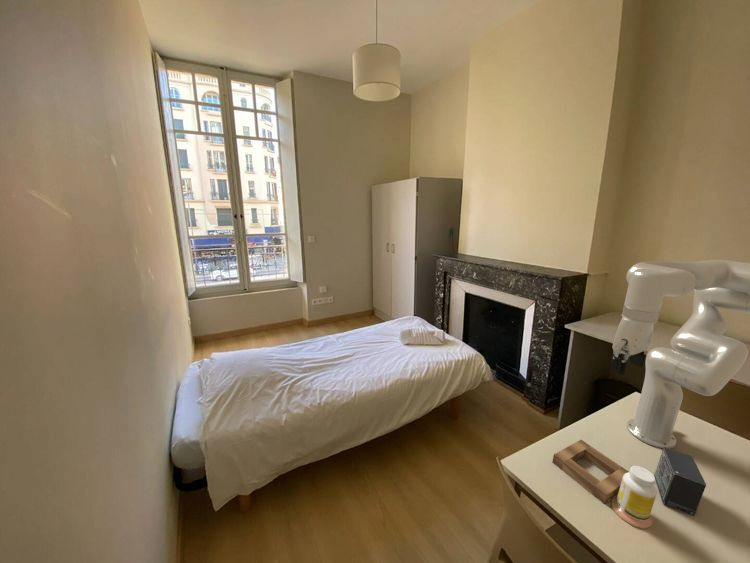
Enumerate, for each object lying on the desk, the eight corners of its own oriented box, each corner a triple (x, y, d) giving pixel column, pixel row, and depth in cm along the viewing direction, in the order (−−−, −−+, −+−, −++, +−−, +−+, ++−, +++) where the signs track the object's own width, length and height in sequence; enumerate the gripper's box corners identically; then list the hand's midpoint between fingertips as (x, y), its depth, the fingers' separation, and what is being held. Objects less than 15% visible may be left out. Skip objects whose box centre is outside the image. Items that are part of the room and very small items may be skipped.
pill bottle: (654, 525, 73) (667, 488, 70) (624, 519, 75) (636, 482, 72) (638, 500, 79) (649, 465, 76) (610, 495, 81) (620, 460, 78)
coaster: (621, 492, 82) (622, 491, 82) (658, 519, 75) (658, 517, 75) (604, 505, 79) (605, 503, 79) (641, 534, 72) (641, 532, 72)
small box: (697, 518, 75) (709, 486, 73) (662, 505, 79) (672, 473, 76) (683, 485, 84) (693, 455, 81) (653, 474, 87) (661, 445, 85)
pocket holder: (579, 447, 97) (581, 439, 97) (631, 483, 85) (634, 475, 84) (552, 462, 92) (553, 454, 91) (604, 503, 79) (606, 495, 78)
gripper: (640, 305, 89) (628, 356, 94) (606, 314, 82) (595, 369, 87) (672, 313, 83) (658, 367, 87) (639, 324, 76) (625, 383, 80)
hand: (626, 368), depth 87 cm, fingers open, 9 cm apart
